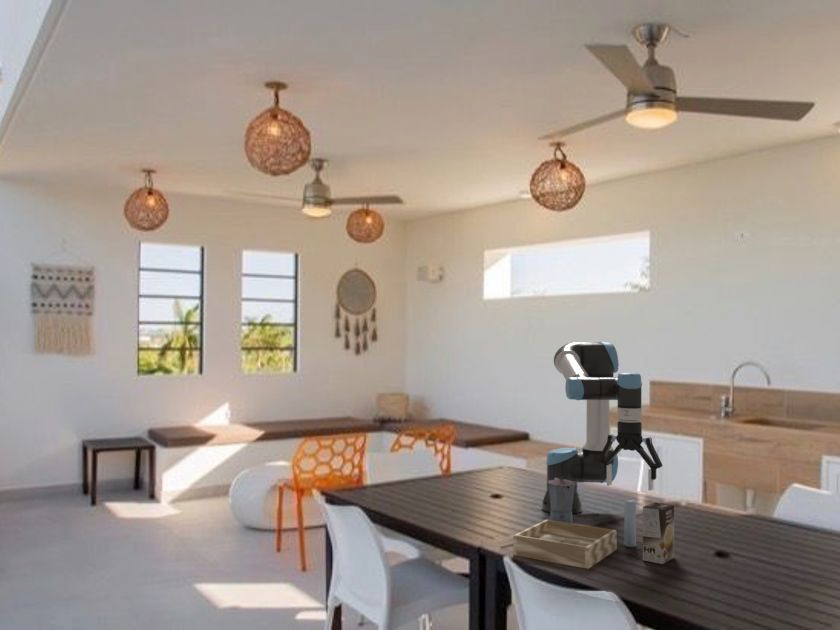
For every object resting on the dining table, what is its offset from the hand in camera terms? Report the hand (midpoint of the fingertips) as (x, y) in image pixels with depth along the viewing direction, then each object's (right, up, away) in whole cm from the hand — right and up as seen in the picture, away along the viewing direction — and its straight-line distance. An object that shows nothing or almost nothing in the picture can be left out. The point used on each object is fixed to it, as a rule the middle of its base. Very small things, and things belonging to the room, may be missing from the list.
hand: (629, 487), depth 243 cm
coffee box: (+4, -18, -15) cm, 24 cm away
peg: (0, -19, 0) cm, 19 cm away
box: (-22, -18, -8) cm, 30 cm away
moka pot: (-20, -19, +15) cm, 31 cm away
